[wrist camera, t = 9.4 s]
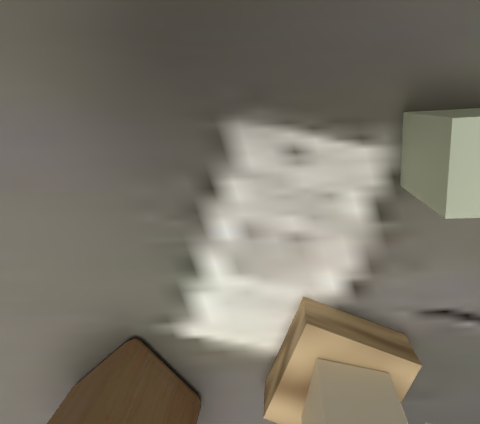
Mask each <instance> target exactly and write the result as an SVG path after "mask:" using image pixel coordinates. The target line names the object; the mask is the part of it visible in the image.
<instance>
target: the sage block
mask: <svg viewBox="0 0 480 424" xmlns="http://www.w3.org/2000/svg"><path fill="white" fill-rule="evenodd" d="M400 186H401V187H403V188H404V189H406V190H407V191H408V192H410V193H411V194H412V195H414V196H415V197H416V198H418V199H419V200H421V201H422V202H423V203H425V204H426V205H427V206H429V207H430V208H431V209H433V210H434V211H436V212H437V213H438V214H440V215H441V216H442V217H444V218H445V219H450V218H480V108H471V109H452V110H433V111H414V112H403V133H402V156H401V179H400Z"/></svg>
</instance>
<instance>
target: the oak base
mask: <svg viewBox="0 0 480 424" xmlns="http://www.w3.org/2000/svg"><path fill="white" fill-rule="evenodd" d="M316 359H322V360H327V361H332V362H337V363H342V364H347V365H352V366H357V367H362V368H367V369H371V370H376V371H381V372H386V373H389V374H390V377H391V379H392V382H393V385H394V387H395V390H396V392H397V395H398V398H399V400H400V403H401V402H402V400H403V398H404V396H405V395H406V393H407V391H408V389H409V388H410V386H411V384H412V382H413V381H414V379H415V377H416V375H417V373H418V372H419V370H420V368H421V366H422V365H421V363H420V361H419V359H418V357H417V356H416V354H415V352H414V350H413V348H412V346H411V344H410V342H409V341H408V339H407V337H406V335H405V334H402V333H400V332H397V331H394V330H391V329H389V328H386V327H383V326H381V325H378V324H375V323H373V322H370V321H367V320H364V319H362V318H359V317H356V316H354V315H351V314H348V313H345V312H343V311H340V310H337V309H335V308H332V307H329V306H326V305H324V304H321V303H318V302H316V301H313V300H310V299H307V298H305V297H303V299H302V301H301V303H300V306H299V308H298V310H297V312H296V315H295V317H294V319H293V321H292V324H291V326H290V328H289V330H288V333H287V335H286V337H285V339H284V341H283V344H282V346H281V348H280V350H279V353H278V355H277V357H276V359H275V362H274V364H273V366H272V368H271V371H270V373H269V375H268V377H267V380H266V382H265V393H264V415H263V418H265V419H267V420H270V421H273V422H276V423H278V424H302V420H301V416H302V412H303V408H304V404H305V401H306V397H307V393H308V389H309V386H310V382H311V378H312V374H313V371H314V367H315V363H316Z"/></svg>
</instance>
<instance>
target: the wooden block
mask: <svg viewBox="0 0 480 424" xmlns="http://www.w3.org/2000/svg"><path fill="white" fill-rule="evenodd" d="M200 408H201V402H200V399H199V397H198V396H197V395H196V394H195V393H194V392H193V391H192V390H191V389H190V388H189V387H188V386H187V385H186V384H185V383H184V382H183V381H182V380H181V379H180V378H179V377H178V376H177V375H176V374H175V373H174V372H173V371H171V370H170V369H169V368H168V367H167V366H166V365H165V364H164V363H163V362H162V361H161V360H160V359H159V358H158V357H157V356H156V355H155V354H154V353H153V352H152V351H151V350H150V349H149V348H148V347H146V346H145V345H144V344H143V343H142V342H141V341H140V340H138V339H132V340H130V341H127V342H125V343H124V344H123V345H122V346H121V347H120V348H118V349H117V350H116V351H115V352H114V353H113V354H111V355H110V356H109V357H108V358H107V359H106V360H104V361H103V362H102V363H101V364H100V365H98V366H97V367H96V368H95V369H94V370H93V371H91V372H90V373H89V374H88V375H87V376H86V377H84V378H83V379H82V380H81V381H80V382H79V383H77V384H76V385H75V386H74V387H73V388H72V389H71V391H70V392H69V394H68V395H67V396H66V398H65V399H64V401H63V402H62V403H61V405H60V406H59V408H58V409H57V411H56V412H55V413H54V415H53V416H52V418H51V419H50V420H49V422H48V423H47V424H196V423H197V419H198V416H199V412H200Z"/></svg>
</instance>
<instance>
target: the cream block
mask: <svg viewBox="0 0 480 424" xmlns="http://www.w3.org/2000/svg"><path fill="white" fill-rule="evenodd" d="M301 420H302V424H408V421H407V419H406V416H405V413H404V411H403V408H402V406H401V403H400V400H399V398H398V395H397V392H396V390H395V387H394V385H393V382H392V379H391V377H390V374H389V373H386V372H381V371H376V370H371V369H367V368H362V367H357V366H352V365H347V364H342V363H337V362H332V361H327V360H322V359H316V363H315V367H314V371H313V374H312V378H311V382H310V386H309V389H308V393H307V397H306V401H305V404H304V408H303V412H302V416H301Z"/></svg>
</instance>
